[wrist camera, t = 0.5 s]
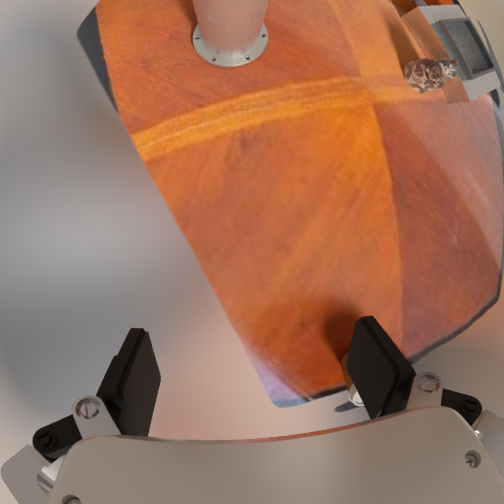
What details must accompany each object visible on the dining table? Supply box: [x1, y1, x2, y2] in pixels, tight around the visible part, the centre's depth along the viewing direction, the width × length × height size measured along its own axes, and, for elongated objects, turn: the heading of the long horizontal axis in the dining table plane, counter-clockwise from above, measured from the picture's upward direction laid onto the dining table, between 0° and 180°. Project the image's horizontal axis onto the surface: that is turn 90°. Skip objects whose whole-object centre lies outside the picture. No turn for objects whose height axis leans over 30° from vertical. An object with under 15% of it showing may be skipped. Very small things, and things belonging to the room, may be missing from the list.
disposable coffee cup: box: [340, 352, 364, 406], centre depth 53 cm, size 10×10×12 cm
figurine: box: [404, 58, 459, 93], centre depth 32 cm, size 7×7×12 cm
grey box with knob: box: [401, 0, 501, 104], centre depth 31 cm, size 25×18×9 cm
